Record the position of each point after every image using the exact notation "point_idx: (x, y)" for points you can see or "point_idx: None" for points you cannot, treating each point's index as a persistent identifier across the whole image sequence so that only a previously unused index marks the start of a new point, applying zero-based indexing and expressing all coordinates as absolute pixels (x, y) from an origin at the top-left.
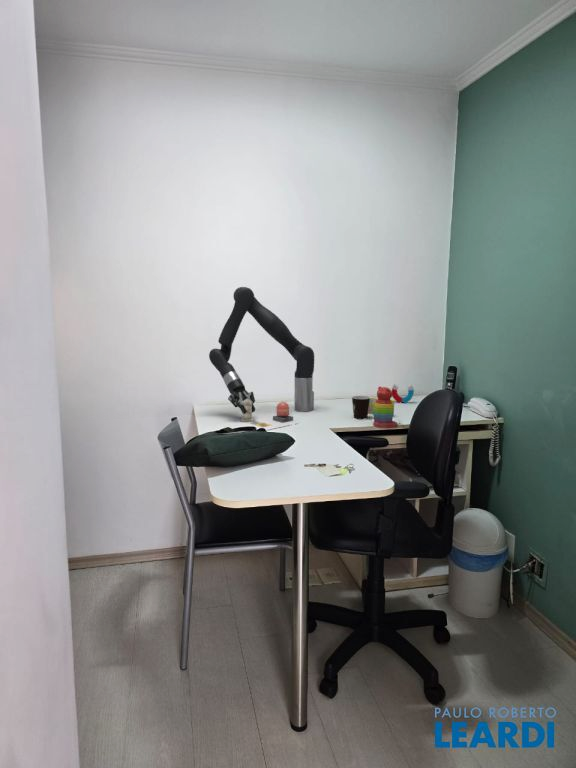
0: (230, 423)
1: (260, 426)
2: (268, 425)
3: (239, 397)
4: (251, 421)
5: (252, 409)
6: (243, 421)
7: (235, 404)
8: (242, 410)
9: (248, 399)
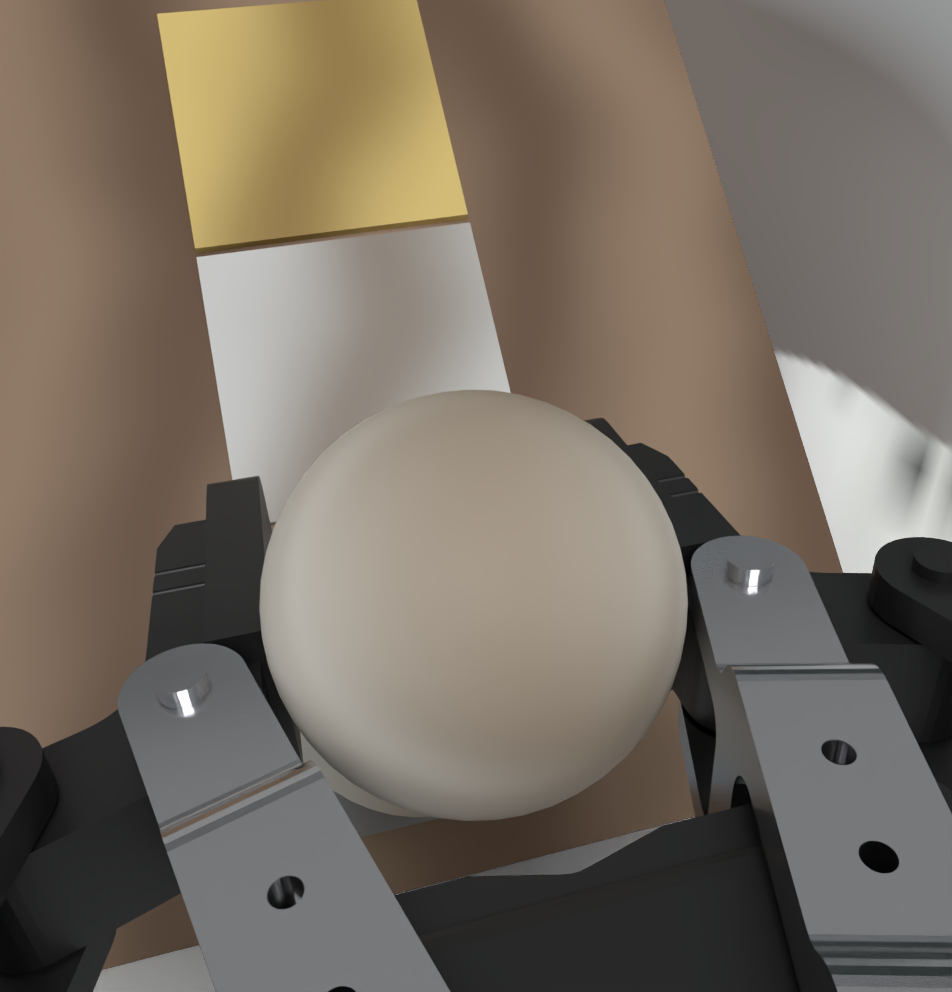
0: None
1: (428, 52)
2: (254, 26)
3: (933, 809)
4: None
5: None
6: None
7: (945, 755)
8: None
9: (433, 525)
